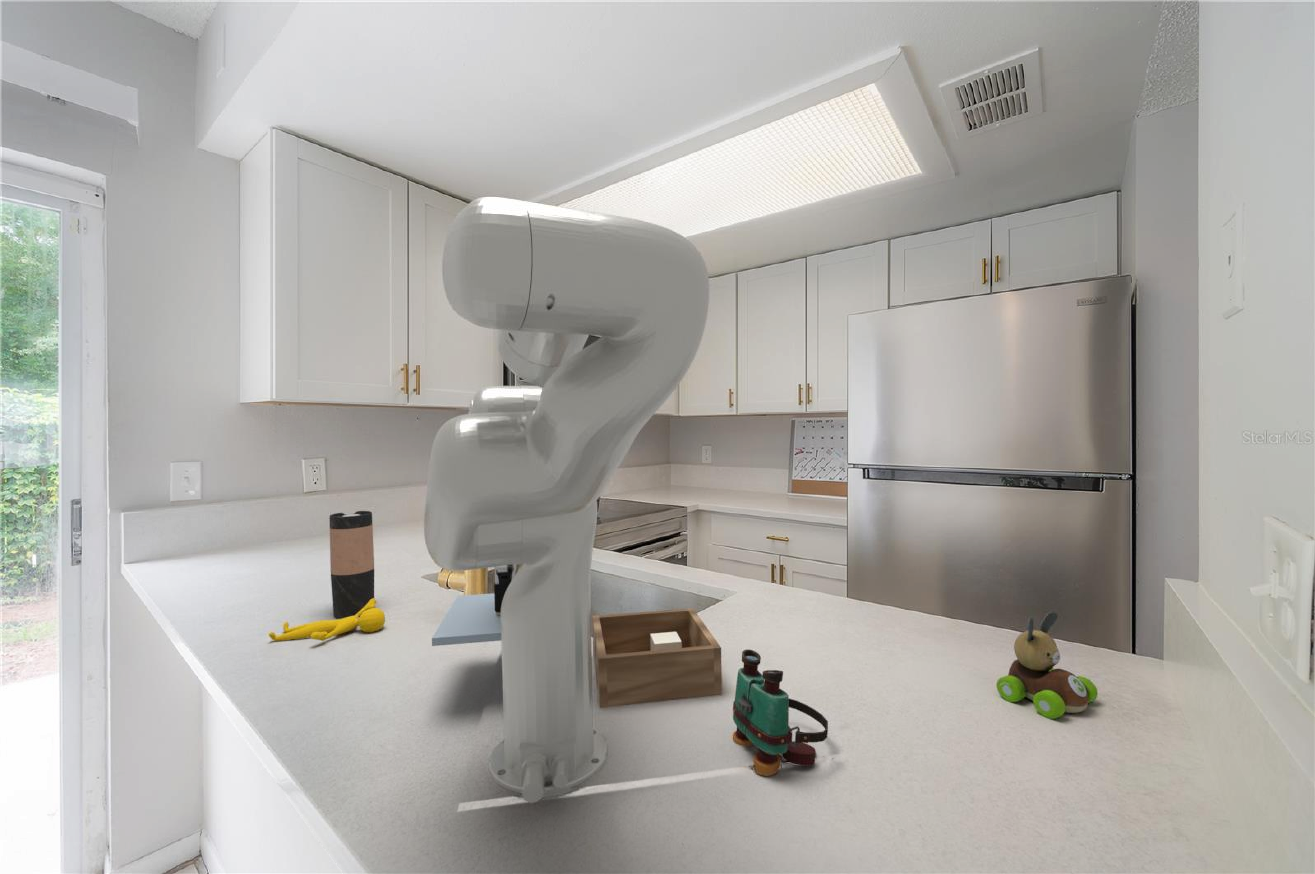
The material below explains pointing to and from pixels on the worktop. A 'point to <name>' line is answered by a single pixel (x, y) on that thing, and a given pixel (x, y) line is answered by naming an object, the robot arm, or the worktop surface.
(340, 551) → the travel mug
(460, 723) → the worktop surface
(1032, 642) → the toy car
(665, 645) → the cream cube
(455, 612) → the lid
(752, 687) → the binoculars
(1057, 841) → the worktop surface
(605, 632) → the box
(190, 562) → the worktop surface
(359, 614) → the figurine
